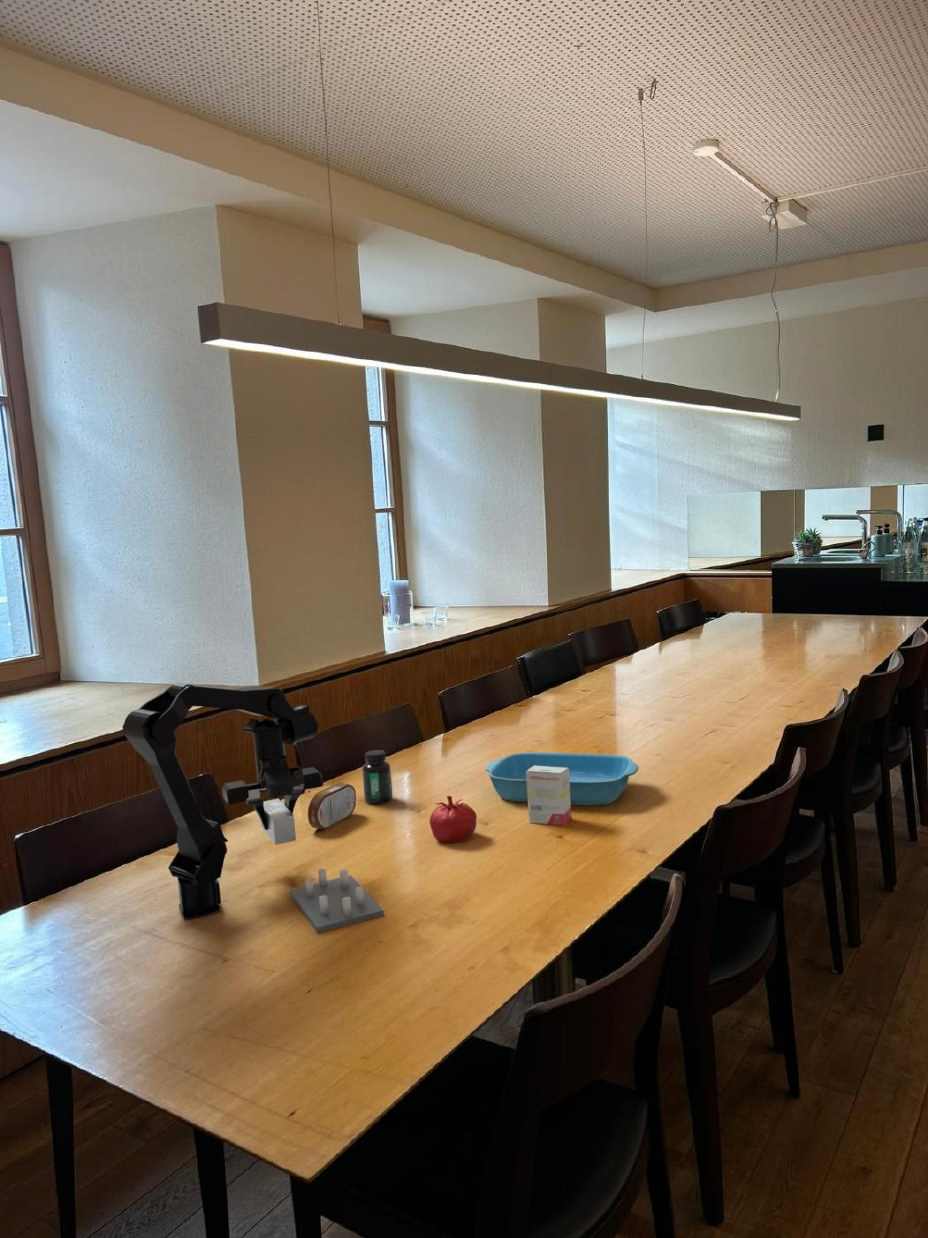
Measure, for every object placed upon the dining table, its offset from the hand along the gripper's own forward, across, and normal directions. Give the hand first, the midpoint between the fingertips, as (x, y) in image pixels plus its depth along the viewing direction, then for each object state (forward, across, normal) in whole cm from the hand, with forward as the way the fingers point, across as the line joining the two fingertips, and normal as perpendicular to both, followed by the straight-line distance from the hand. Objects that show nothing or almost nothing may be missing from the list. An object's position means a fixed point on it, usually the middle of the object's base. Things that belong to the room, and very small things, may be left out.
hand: (277, 827), depth 180 cm
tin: (+10, +18, +22) cm, 30 cm away
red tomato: (+10, +37, -2) cm, 38 cm away
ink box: (+10, +59, -5) cm, 60 cm away
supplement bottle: (+10, +32, +31) cm, 45 cm away
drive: (+1, 0, 0) cm, 1 cm away
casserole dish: (+10, +71, +10) cm, 72 cm away
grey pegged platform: (+10, +5, -20) cm, 23 cm away
